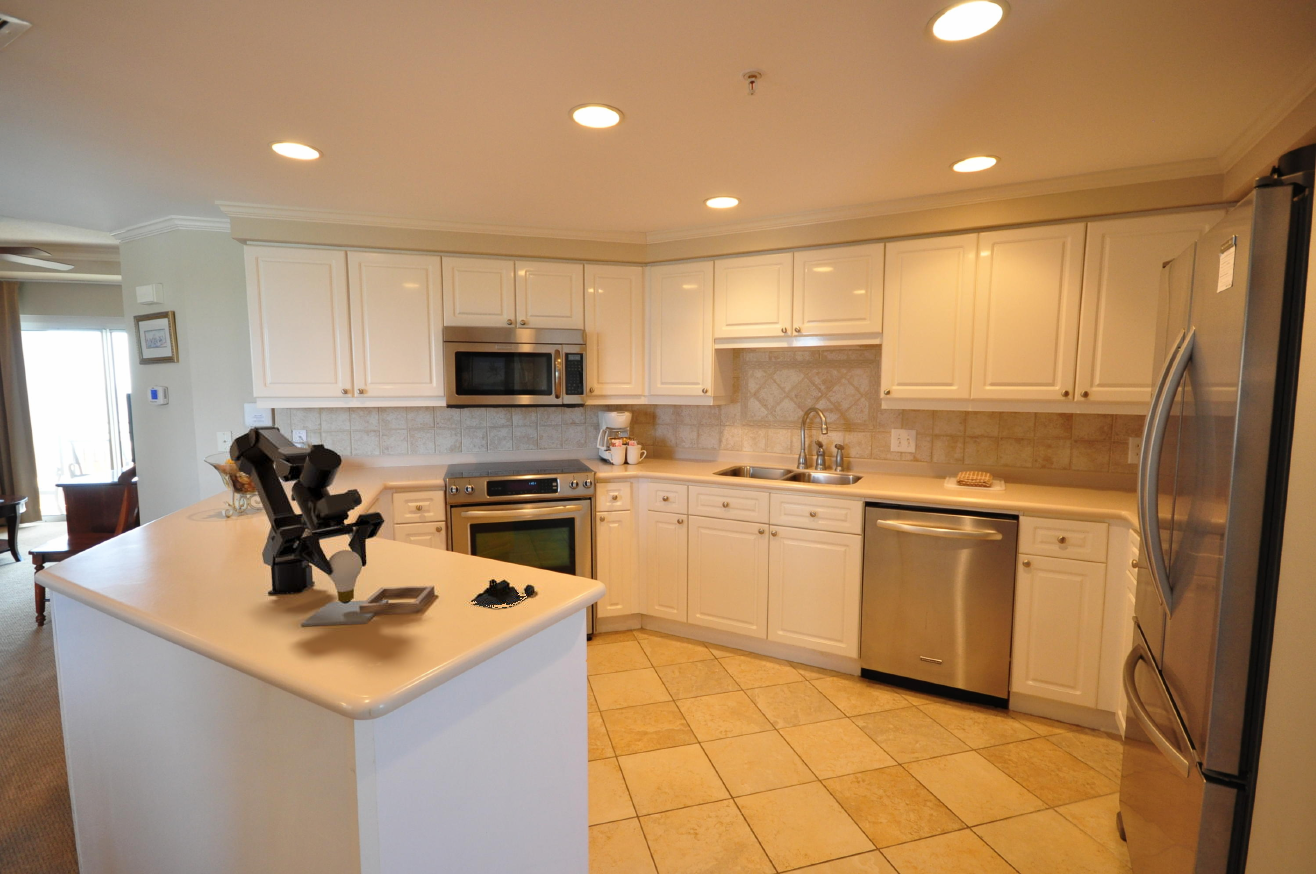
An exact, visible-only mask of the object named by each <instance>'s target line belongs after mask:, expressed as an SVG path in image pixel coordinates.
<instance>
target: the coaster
mask: <svg viewBox="0 0 1316 874" xmlns="http://www.w3.org/2000/svg"><path fill="white" fill-rule="evenodd" d="M364 601H365V600H351V601H350V602H349V603H347V604H344V603H342V602H340V601H329V602H328V603H327V604H325V605H324V606H323V607H321V608H320V609H318V610H317V611H316V612H315V613H313V614H312V615H310V616H309V617H308V618H306V619H305V620H304V621H302V622H301V624H300V625H301V627H311V626H312V627H315V626H317V627H318V626H334V625H335V626H336V625H338V626H339V625H356V624H357V625H359V624H360V625H361V624H367V623H368V622H369V621H370V620H371V619H372V618H373V617H374V616H375V612H363V613H360V611H359V606H360V605H361V604H362V603H363V602H364ZM376 603H390V600H389V599H383V600H379V601H378V602H376Z"/></svg>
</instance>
